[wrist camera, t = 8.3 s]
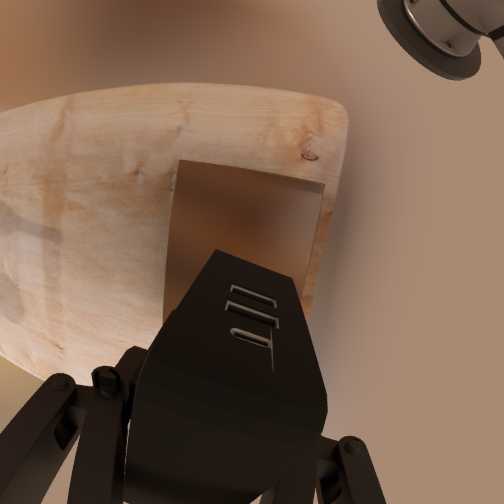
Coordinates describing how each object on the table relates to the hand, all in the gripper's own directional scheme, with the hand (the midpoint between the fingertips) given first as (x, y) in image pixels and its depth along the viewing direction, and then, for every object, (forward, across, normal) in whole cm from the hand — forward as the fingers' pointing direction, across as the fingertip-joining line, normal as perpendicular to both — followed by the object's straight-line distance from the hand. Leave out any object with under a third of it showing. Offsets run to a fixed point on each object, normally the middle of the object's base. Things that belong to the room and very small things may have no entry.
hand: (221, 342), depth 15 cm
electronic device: (0, 0, 0) cm, 1 cm away
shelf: (+21, 0, 0) cm, 21 cm away
